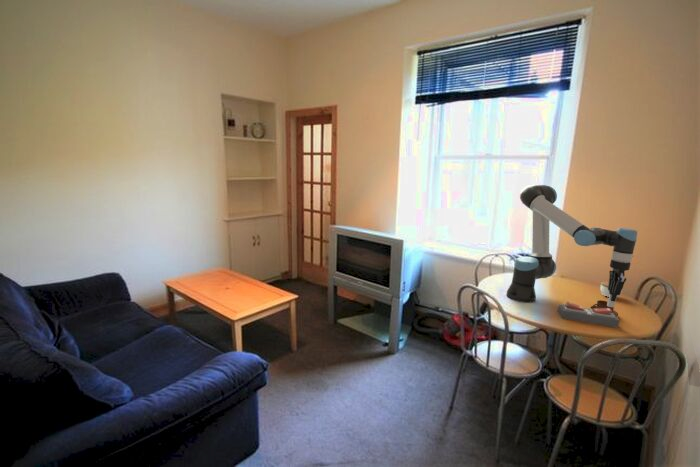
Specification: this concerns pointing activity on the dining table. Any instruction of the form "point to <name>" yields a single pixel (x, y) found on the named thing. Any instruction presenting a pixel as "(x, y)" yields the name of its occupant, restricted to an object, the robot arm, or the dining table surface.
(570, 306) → the rocker
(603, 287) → the lidded jar
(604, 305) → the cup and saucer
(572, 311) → the power strip
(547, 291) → the dining table surface
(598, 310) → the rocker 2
